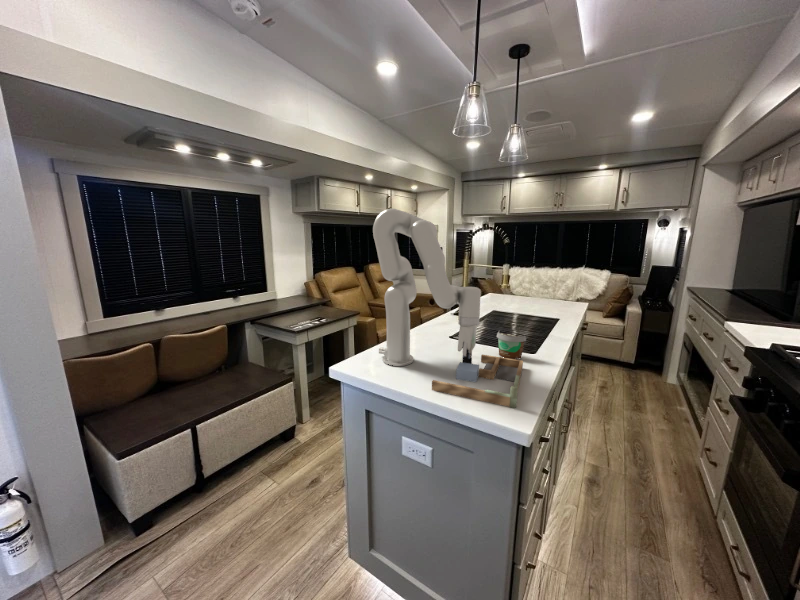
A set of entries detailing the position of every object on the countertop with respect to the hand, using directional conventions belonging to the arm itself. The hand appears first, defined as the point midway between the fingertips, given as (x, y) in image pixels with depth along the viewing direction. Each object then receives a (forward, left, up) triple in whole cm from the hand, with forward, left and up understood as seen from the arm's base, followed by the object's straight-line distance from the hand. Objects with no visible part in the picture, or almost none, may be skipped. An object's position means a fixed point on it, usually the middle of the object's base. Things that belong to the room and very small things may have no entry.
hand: (466, 367), depth 116 cm
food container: (+12, +21, -1) cm, 25 cm away
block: (+2, -6, -2) cm, 6 cm away
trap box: (+6, -5, -1) cm, 8 cm away
